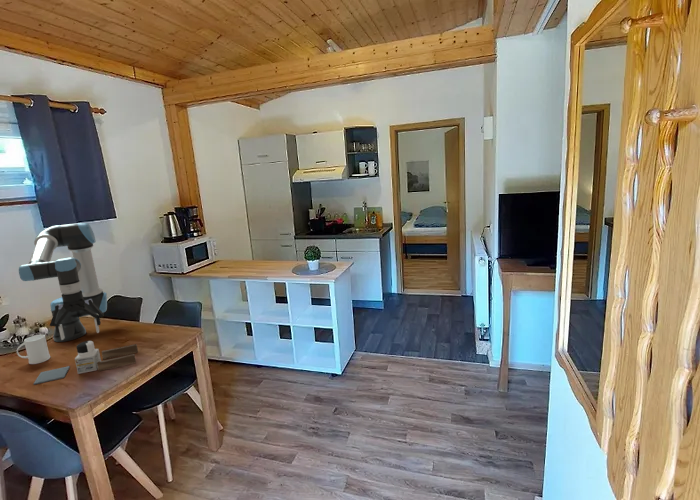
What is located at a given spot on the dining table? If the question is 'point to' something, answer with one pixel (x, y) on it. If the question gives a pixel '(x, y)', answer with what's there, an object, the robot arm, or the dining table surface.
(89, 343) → the container
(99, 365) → the rack
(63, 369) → the pad
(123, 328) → the dining table surface
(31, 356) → the mug
